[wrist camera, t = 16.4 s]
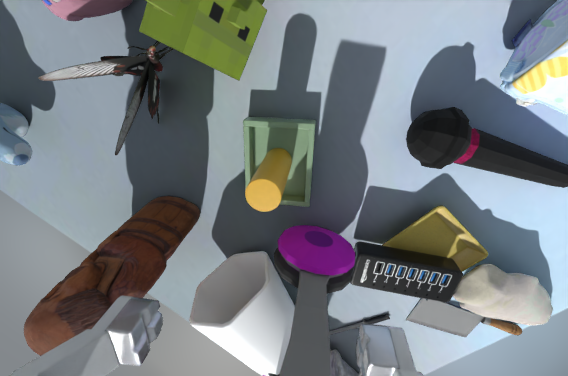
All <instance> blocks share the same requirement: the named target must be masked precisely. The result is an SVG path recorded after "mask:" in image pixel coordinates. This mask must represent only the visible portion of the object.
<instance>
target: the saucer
mask: <svg viewBox="0 0 568 376" xmlns="http://www.w3.org/2000/svg"><path fill="white" fill-rule="evenodd" d="M382 246H387V247H392V248H398V249H404V250H409V251H415V252H420V253H426V254H431V255H437V256H442V257H448V258H452V259H453V260H454V261H455V263H456V264H457V266H458V267H459V269H460V270H461V272H462V271H464V270H466V269H468V268H469V267H471V266H473V265H475V264H476V263H478V262H480V261H482V260H483V259H485V258H486V257H487V256H488V251H487V250H486V249H485V248H484V247H483V246H482V245H481V244H480V243H479V242H478V241H477V240H476V239H475V238H474V237H473V236H472V235H471V234H470V232H468V231H467V230H466V228H465V227H464V226H463V225H462V224H461V223H460V222H459V221H458V220H457V219H456V218H455V217H454V216H453V215H452V214H451V212H450V211H449V210H448V209H447V208H446V207H444V206H437V207H435V208H434V209H432V210H431V211H429V212H428V213H427V214H425V215H424V216H422V217H421V218H420V219H418V220H417V221H415V222H414V223H412V224H411V225H410V226H408V227H407V228H405V229H404V230H403V231H401V232H400V233H398V234H397V235H395V236H394V237H393V238H391V239H390V240H388V241H387V242H386V243H384V244H383V245H382Z"/></svg>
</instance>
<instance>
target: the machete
mask: <svg viewBox="0 0 568 376" xmlns="http://www.w3.org/2000/svg"><path fill="white" fill-rule="evenodd" d="M387 319H390V317H389V316H388V314H387V315H384V316H380V317H376V318H372V319H370V320H364V319H363V322H360V323H358V324H354V325H350V326H347V327H343V328H339V329H336V330H332V331H329V336H330V335H332V334H336V333H339V332H343V331H347V330H350V329H357V328H358V327H360V324H361V323H363V324H374V323H378V322H381V321H384V320H387Z"/></svg>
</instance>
